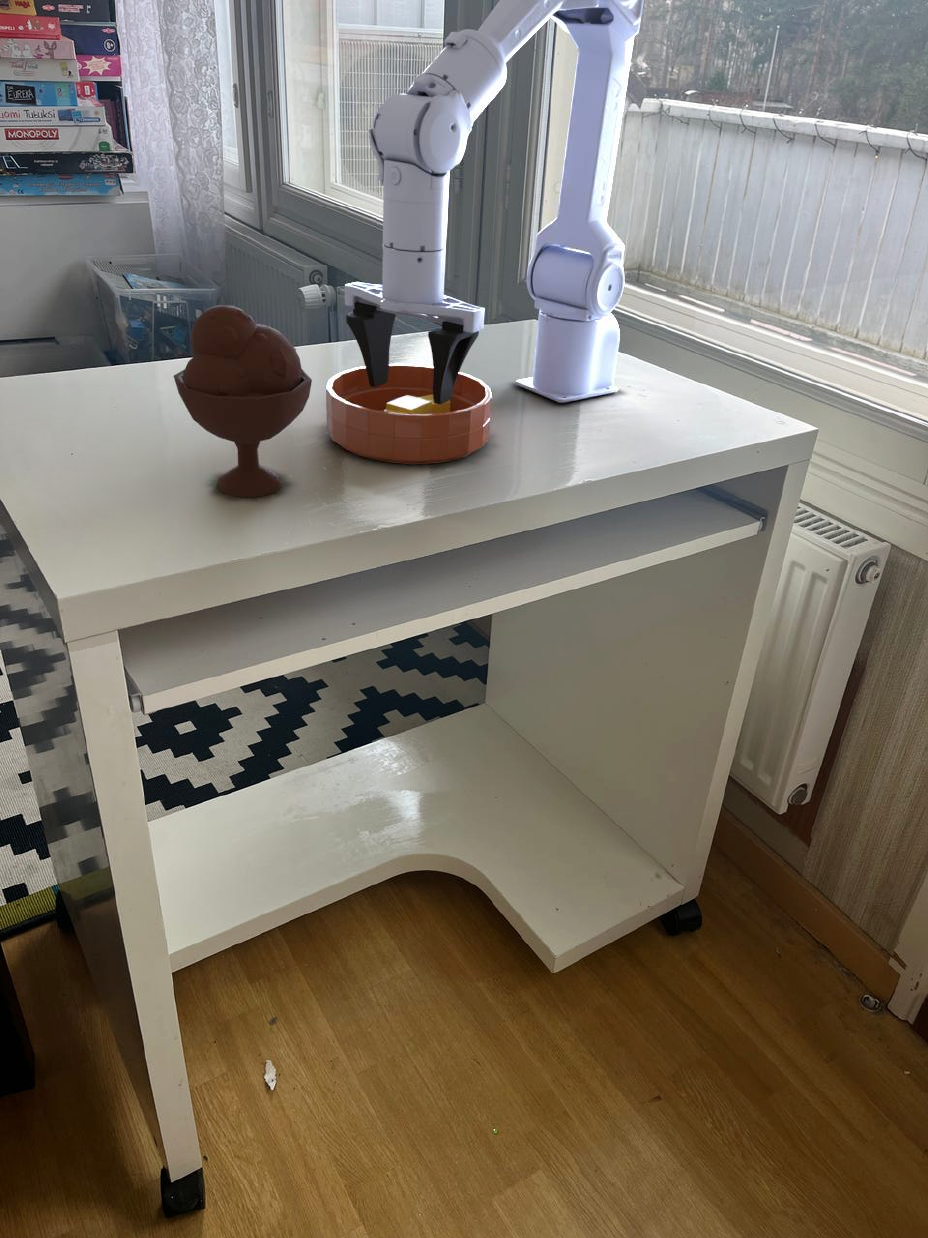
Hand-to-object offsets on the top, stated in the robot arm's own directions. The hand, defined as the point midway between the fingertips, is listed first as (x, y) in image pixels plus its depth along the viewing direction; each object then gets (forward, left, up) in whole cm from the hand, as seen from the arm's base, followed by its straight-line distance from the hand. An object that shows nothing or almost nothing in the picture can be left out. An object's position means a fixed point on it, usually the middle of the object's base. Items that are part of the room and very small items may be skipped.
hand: (409, 392), depth 93 cm
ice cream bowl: (+19, +3, -5) cm, 20 cm away
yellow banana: (0, 0, -4) cm, 4 cm away
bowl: (0, 0, -5) cm, 5 cm away
